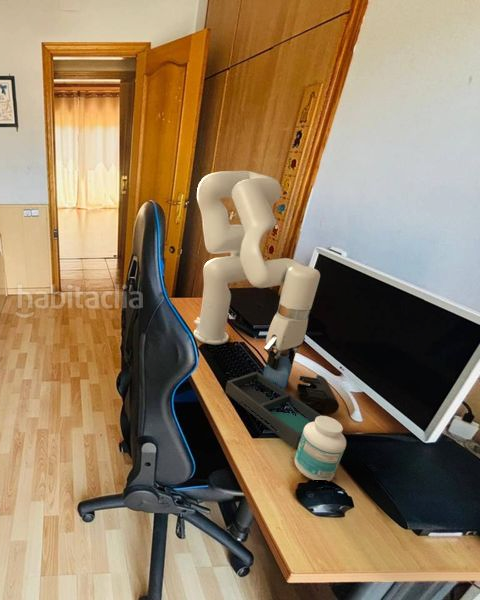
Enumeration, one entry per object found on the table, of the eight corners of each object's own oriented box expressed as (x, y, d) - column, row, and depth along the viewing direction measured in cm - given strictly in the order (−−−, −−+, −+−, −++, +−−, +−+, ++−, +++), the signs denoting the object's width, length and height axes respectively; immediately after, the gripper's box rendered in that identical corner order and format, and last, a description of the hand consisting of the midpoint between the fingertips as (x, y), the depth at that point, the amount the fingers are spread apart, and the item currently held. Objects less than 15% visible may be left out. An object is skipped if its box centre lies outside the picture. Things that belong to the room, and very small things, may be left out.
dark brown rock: (335, 419, 86) (342, 399, 84) (304, 413, 89) (310, 394, 86) (323, 395, 95) (329, 376, 92) (295, 390, 97) (300, 371, 94)
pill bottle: (305, 450, 78) (321, 406, 72) (340, 474, 72) (359, 428, 66) (286, 463, 75) (300, 418, 69) (320, 490, 69) (338, 443, 63)
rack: (225, 392, 97) (227, 381, 96) (254, 382, 101) (256, 371, 100) (294, 449, 78) (298, 436, 77) (327, 434, 82) (332, 422, 80)
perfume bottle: (287, 382, 101) (297, 349, 96) (283, 392, 97) (293, 358, 92) (265, 374, 105) (273, 342, 100) (260, 384, 100) (268, 351, 95)
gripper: (302, 300, 96) (288, 352, 104) (258, 311, 91) (247, 365, 98) (328, 310, 90) (311, 364, 97) (283, 322, 84) (268, 379, 92)
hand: (279, 364), depth 98 cm, fingers closed on perfume bottle, 5 cm apart
